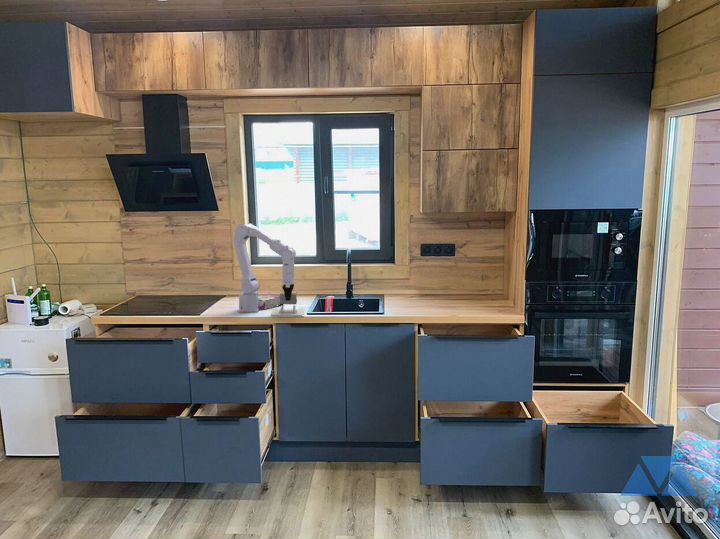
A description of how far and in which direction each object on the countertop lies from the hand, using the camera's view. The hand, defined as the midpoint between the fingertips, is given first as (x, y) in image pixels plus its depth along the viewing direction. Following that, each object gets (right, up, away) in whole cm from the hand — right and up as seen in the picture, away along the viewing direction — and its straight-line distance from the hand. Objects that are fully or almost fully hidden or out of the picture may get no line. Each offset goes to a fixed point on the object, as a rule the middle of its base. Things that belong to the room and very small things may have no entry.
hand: (288, 299), depth 271 cm
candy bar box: (-9, -1, +24) cm, 26 cm away
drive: (0, -2, 0) cm, 2 cm away
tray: (0, -7, +1) cm, 7 cm away
